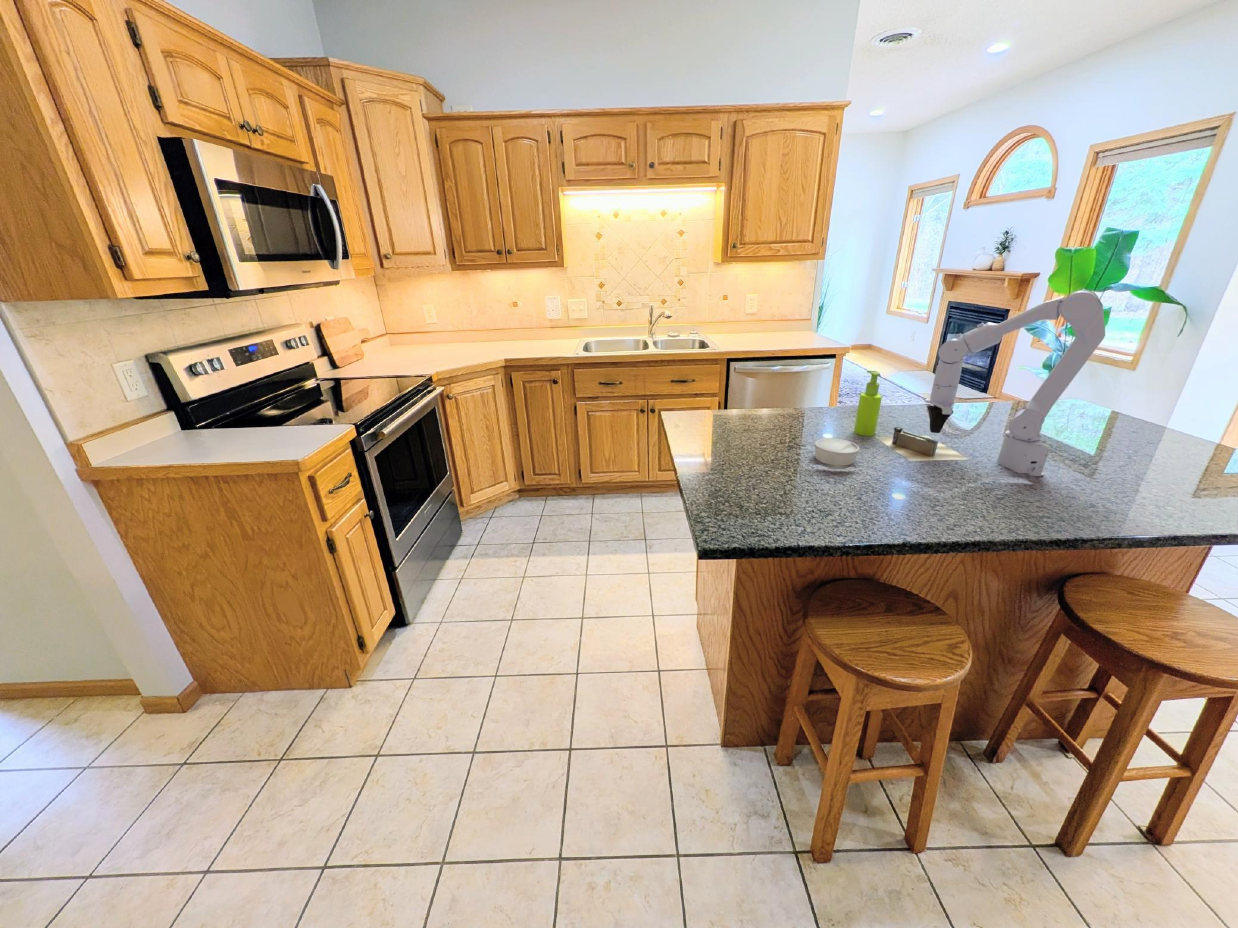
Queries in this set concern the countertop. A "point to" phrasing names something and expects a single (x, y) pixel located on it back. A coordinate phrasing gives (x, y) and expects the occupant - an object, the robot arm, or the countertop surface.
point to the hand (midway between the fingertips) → (934, 432)
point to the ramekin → (835, 452)
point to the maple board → (940, 454)
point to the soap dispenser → (868, 407)
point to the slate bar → (925, 439)
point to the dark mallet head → (912, 443)
